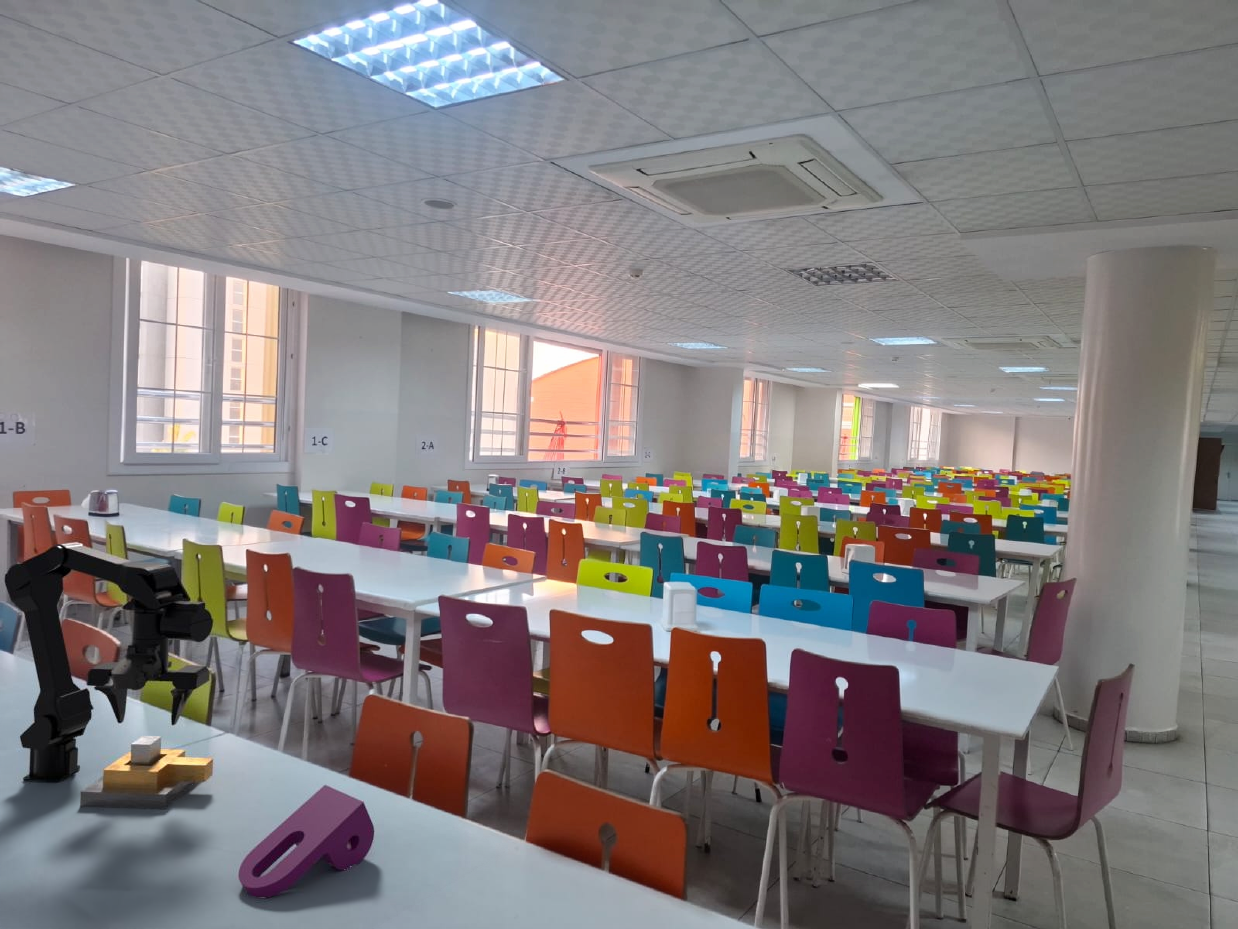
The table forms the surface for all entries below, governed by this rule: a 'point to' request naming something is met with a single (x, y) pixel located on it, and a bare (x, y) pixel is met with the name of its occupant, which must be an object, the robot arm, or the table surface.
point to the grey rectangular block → (146, 751)
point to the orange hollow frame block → (147, 781)
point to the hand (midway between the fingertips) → (147, 723)
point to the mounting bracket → (309, 842)
